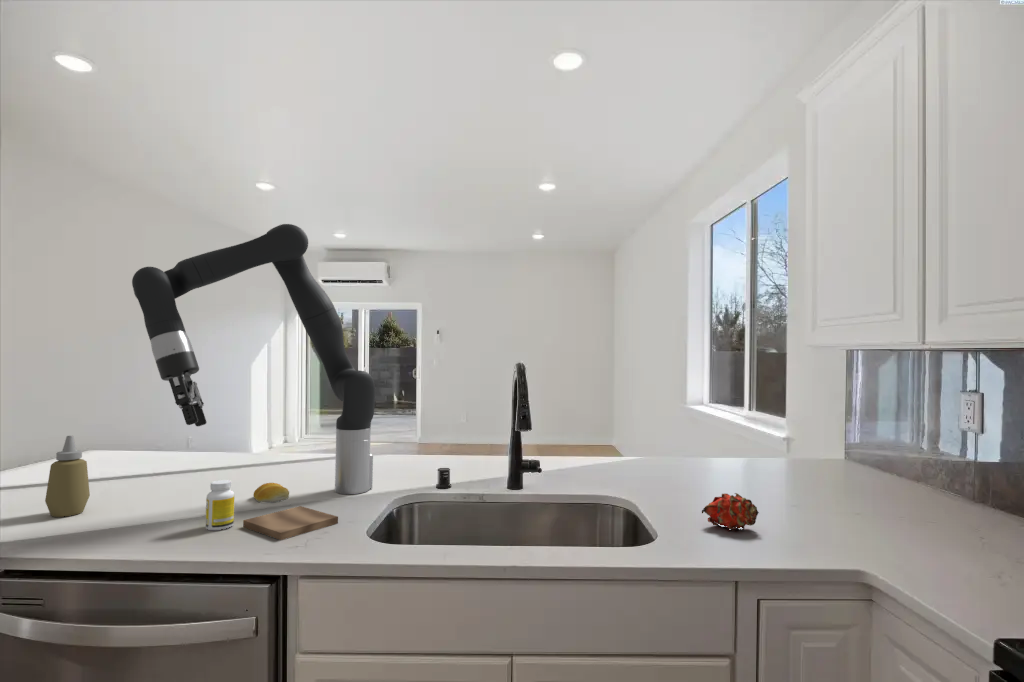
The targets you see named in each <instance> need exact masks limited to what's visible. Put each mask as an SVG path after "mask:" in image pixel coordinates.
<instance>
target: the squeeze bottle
mask: <svg viewBox="0 0 1024 682" xmlns="http://www.w3.org/2000/svg"><path fill="white" fill-rule="evenodd" d="M55 456H56V460H57V461H54V462H53V463H51V464H50V468H49V475H48V479H47V480H48V481H47V488H46V494H45V500H44V502H45V505H46V507H47V510H48V512H49V514H50V516H51V517H56V518H62V517H64V516H65V517H71V515H72V516H76V515H79V514H82V513H83V512H84V510H85V508H86V507H87V503H88V500H89V498H90V495H91V494H90V492H91V491H90V481H89V471H88V463H87V460H85V459H84V458H82V457H83V450H81V449H80V450H79V449H77V445H76V441H75V438H74V435H67V436H66V437H65V440H64V444H63V447H62V450H61V451H57V452H56V455H55Z"/></svg>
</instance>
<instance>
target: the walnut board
mask: <svg viewBox="0 0 1024 682" xmlns="http://www.w3.org/2000/svg"><path fill="white" fill-rule="evenodd" d="M338 523H339V516H338V515H333V514H331V513H326V512H322V511H319V510H316V509H312V508H309V507H305V506H301V505H299V506H294V507H292V508H288V509H283V510H279V511H274V512H272V513H267V514H262V515H259V516H255V517H250V518H246V519H244V520H243V521H242V524H243V528H244V527H246V528H245V529H247V528H249V529H248V530H250V529H251V531H253V530H254V532H256V533H258V532H260V533H259V534H261V533H262V535H264V534H265V535H264V536H267V535H268V537H270V536H271V537H270V538H273V537H274V539H275V538H276V540H278V539H279V541H283V540H287V539H289V538H293V537H296V535H297V536H300V535H304V534H306V533H310V532H314V531H316V530H321V529H324V528H328V527H330V526H334V525H337V524H338ZM292 536H293V537H292ZM286 538H287V539H286Z"/></svg>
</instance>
